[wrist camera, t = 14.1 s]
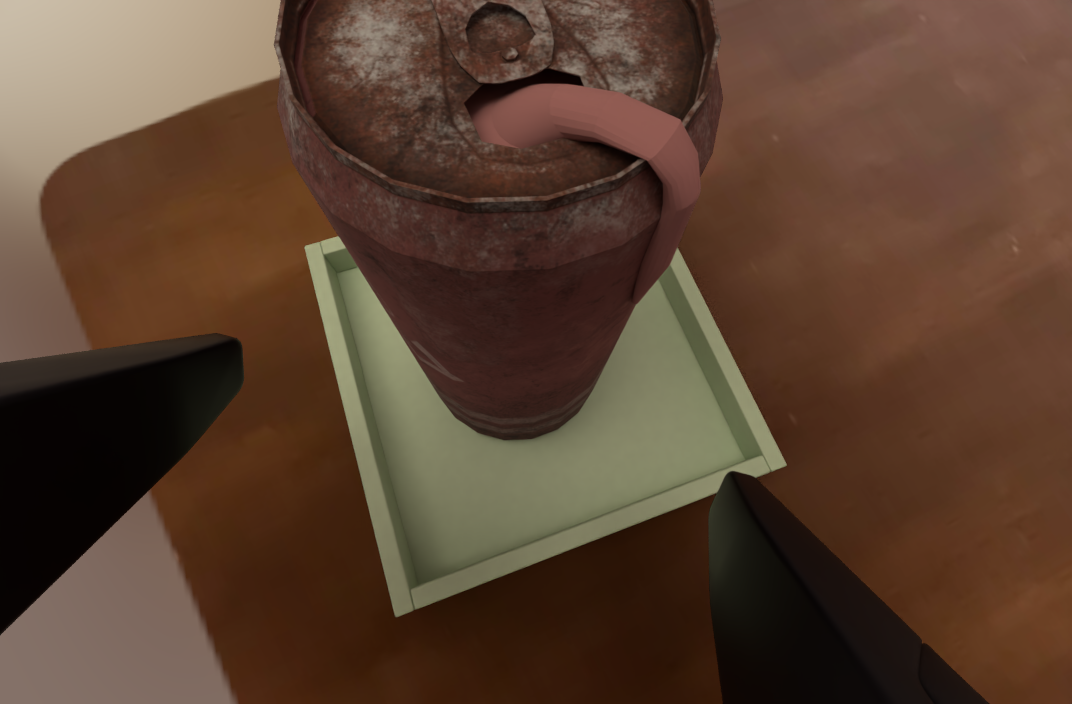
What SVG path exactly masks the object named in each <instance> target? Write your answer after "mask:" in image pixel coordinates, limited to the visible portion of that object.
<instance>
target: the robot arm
mask: <svg viewBox="0 0 1072 704" xmlns="http://www.w3.org/2000/svg"><path fill="white" fill-rule="evenodd" d="M243 381H244V368H243V351H242V344H241V342H240V341H239V340H238V339H237V338H234V337H230V336H226V335H223V334H218V333H213V334H205V335H198V336H191V337H184V338H177V339H169V340H162V341H155V342H148V343H141V344H133V345H126V346H119V347H112V348H104V349H97V350H90V351H84V352H76V353H69V354H62V355H54V356H47V357H40V358H32V359H25V360H18V361H11V362H3V363H0V635H1V634H2V633H3V632H4V631H5V630H6V629H7V628H8V627H9V626H10V625H11V624H12V623H13V622H14V621H15V620H16V619H17V618H18V617H19V616H20V615H21V614H22V613H23V612H24V611H25V610H27V609H28V608H29V607H30V606H31V605H32V604H33V603H34V602H35V601H36V600H37V599H38V598H39V597H40V596H41V595H42V594H43V593H44V592H45V591H46V590H47V589H48V588H49V587H50V586H51V585H52V584H53V583H54V582H55V581H56V580H57V579H58V578H59V577H60V576H61V575H62V574H64V573H65V572H66V571H67V570H68V569H69V568H70V567H71V566H72V565H73V564H74V563H75V562H76V561H77V560H78V559H79V558H80V557H81V556H82V555H83V554H84V553H85V552H86V551H87V550H88V549H89V548H90V547H91V546H92V545H93V544H94V543H95V542H96V541H97V540H98V539H99V538H100V537H102V536H103V535H104V533H106V531H108V530H109V529H110V527H112V526H113V525H114V524H115V523H116V522H117V521H118V520H119V519H120V518H121V517H122V516H123V515H124V514H125V513H126V512H127V511H128V510H129V509H130V508H131V507H132V506H133V505H134V504H135V503H136V502H137V501H138V500H139V499H140V498H142V497H143V496H144V495H145V494H146V493H147V492H148V491H149V490H150V489H151V488H152V487H153V486H154V485H155V484H156V483H157V482H158V481H159V480H160V479H161V478H162V477H163V476H164V475H165V474H166V473H167V472H168V471H169V470H170V469H171V468H172V467H173V466H174V465H175V464H176V463H177V462H178V461H179V460H180V459H181V458H182V457H183V456H184V455H185V454H186V453H187V452H188V451H189V450H190V449H191V448H192V447H193V445H194V444H195V443H196V442H197V441H198V440H199V439H200V437H201V436H202V435H203V434H204V433H205V431H206V430H207V429H208V428H209V427H210V425H211V424H212V423H213V422H214V421H215V420H216V418H217V417H218V416H219V415H220V414H221V412H222V411H223V410H224V409H225V408H226V406H227V405H228V404H229V403H230V402H231V400H232V399H233V398H234V397H235V396H236V395H237V393H238V392H239V391H240V389H241V387H242V385H243ZM709 592H710V607H711V616H712V624H713V631H714V639H715V647H716V654H717V662H718V670H719V677H720V685H721V693H722V700H723V704H989V703H988V702H987V701H986V700H985V699H984V698H983V697H982V696H981V695H980V694H978V693H977V692H976V691H975V690H974V689H973V688H972V687H971V686H970V685H969V684H968V683H967V682H966V681H965V680H964V679H963V678H962V677H960V676H959V675H958V674H957V673H956V672H955V671H954V670H953V669H952V668H951V667H950V666H949V665H948V664H947V663H946V662H945V661H944V660H943V659H942V658H941V657H940V656H939V655H938V654H937V653H936V652H935V651H934V650H933V649H932V648H931V647H930V646H928V645H927V644H925V643H923V644H922V640H921V638H920V637H919V636H918V635H917V634H916V633H915V632H914V631H913V630H912V629H911V628H910V627H909V626H908V625H907V624H906V623H905V622H904V621H903V620H901V619H900V618H899V617H898V616H897V615H896V614H895V613H894V612H893V611H892V610H891V609H890V608H889V607H888V606H887V605H886V604H885V603H884V602H883V601H882V600H881V599H880V598H879V597H878V596H877V595H876V594H875V593H874V592H873V591H872V590H871V589H870V588H869V587H867V586H866V585H865V584H864V583H863V582H862V581H861V580H860V579H859V578H858V577H857V576H856V575H855V574H854V573H853V572H852V571H851V570H850V569H849V568H848V567H847V566H846V565H845V564H844V563H843V562H842V561H841V560H840V559H839V558H838V557H837V556H836V555H834V554H833V553H832V552H831V551H830V550H829V549H828V548H827V547H826V546H825V545H824V544H823V543H822V542H821V541H820V540H819V539H818V538H817V537H816V536H815V535H814V534H813V533H812V532H811V531H810V530H809V529H808V528H807V527H806V526H805V525H804V524H803V523H802V522H800V521H799V520H798V519H797V518H796V517H795V516H794V515H793V514H792V513H791V512H790V511H789V510H788V509H787V508H786V507H785V506H784V505H783V504H782V503H781V502H780V501H779V500H778V499H777V498H776V497H775V496H774V495H773V494H772V493H771V492H770V491H769V490H768V489H766V488H765V487H764V486H763V485H762V484H761V483H760V482H759V481H758V480H757V479H756V478H755V477H754V476H751V475H748V474H744V473H740V472H737V471H730V472H728V473H727V474H726V475H725V477H724V479H723V481H722V483H721V485H720V488H719V490H718V492H717V494H716V496H715V498H714V501H713V503H712V505H711V508H710V512H709Z"/></svg>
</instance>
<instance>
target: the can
mask: <svg viewBox="0 0 1072 704" xmlns="http://www.w3.org/2000/svg"><path fill="white" fill-rule="evenodd" d="M720 41H721V36H720V31H719V27H718V22H717V18H716V13H715V9H714V4H713V0H281V2H280V9H279V15H278V22H277V28H276V35H275V42H274V47H275V50H276V54H277V57H278V60H279V64H280V68H281V70H280V81H279V93H278V104H277V108H278V112H279V115H280V119H281V122H282V126H283V130H284V133H285V137H286V141H287V144H288V148H289V151H290V155H291V159H292V162H293V164H294V166H295V167H296V169H297V171H298V172H299V174H300V175H301V177H302V179H303V180H304V182H305V183H306V185H307V186H308V188H309V190H310V191H311V193H312V194H313V196H314V198H315V199H316V201H317V202H318V204H319V206H320V207H321V209H322V210H323V212H324V214H325V215H326V217H327V218H328V220H329V222H330V223H331V225H332V226H333V228H334V230H335V231H336V233H337V234H338V236H339V238H340V239H341V241H342V242H343V244H344V246H345V247H346V249H347V250H348V252H349V254H350V255H351V257H352V258H353V260H354V262H355V263H356V265H357V266H358V268H359V269H360V271H361V273H362V274H363V276H364V277H365V279H366V281H367V282H368V284H369V285H370V287H371V289H372V290H373V292H374V293H375V295H376V297H377V298H378V300H379V301H380V303H381V305H382V306H383V308H384V309H385V311H386V313H387V314H388V316H389V317H390V319H391V321H392V322H393V324H394V325H395V327H396V329H397V330H398V332H399V333H400V335H401V337H402V338H403V340H404V341H405V343H406V345H407V346H408V348H409V349H410V351H411V353H412V354H413V356H414V357H415V359H416V360H417V362H418V364H419V365H420V367H421V368H422V370H423V372H424V373H425V375H426V376H427V378H428V380H429V381H430V383H431V384H432V386H433V388H434V389H435V391H436V392H437V394H438V396H439V397H440V398H441V400H442V401H443V402H444V404H445V405H446V406H447V408H448V409H449V410H450V412H451V413H452V414H453V416H454V417H455V418H456V419H458V420H459V421H461V422H462V423H464V424H465V425H467V426H468V427H470V428H471V429H473V430H474V431H476V432H477V433H480V434H483V435H487V436H490V437H494V438H498V439H501V440H524V439H534V438H536V437H539V436H542V435H544V434H547V433H550V432H552V431H555V430H558V429H559V428H560V427H561V426H563V425H564V424H565V423H566V422H568V421H569V420H570V419H571V418H573V417H574V416H575V415H576V414H577V413H579V411H580V410H581V408H582V406H583V405H584V403H585V402H586V400H587V399H588V397H589V395H590V394H591V392H592V391H593V389H594V387H595V385H596V383H597V381H598V379H599V377H600V375H601V373H602V371H603V369H604V367H605V365H606V363H607V361H608V359H609V357H610V355H611V353H612V351H613V349H614V347H615V345H616V343H617V341H618V339H619V337H620V335H621V333H622V331H623V329H624V327H625V325H626V323H627V321H628V319H629V317H630V315H631V313H632V312H633V310H634V308H635V306H636V304H638V303H639V302H640V300H641V299H642V298H643V297H644V296H645V294H646V293H647V292H648V291H649V290H650V288H651V287H652V286H653V285H654V284H655V282H656V281H657V280H658V279H659V277H660V276H661V275H662V274H663V273H664V271H665V270H666V269H667V268H668V267H669V265H670V264H671V261H672V259H673V256H674V254H675V252H676V249H677V247H678V244H679V242H680V240H681V237H682V235H683V233H684V230H685V228H686V225H687V223H688V221H689V218H690V216H691V213H692V211H693V209H694V206H695V204H696V202H697V199H698V197H699V194H700V191H701V183H700V177H701V175H702V173H703V171H704V169H705V167H706V165H707V163H708V161H709V159H710V157H711V155H712V153H713V148H714V143H715V137H716V132H717V127H718V122H719V117H720V112H721V107H722V101H723V95H722V89H721V83H720V78H719V72H718V66H717V56H718V51H719V46H720Z"/></svg>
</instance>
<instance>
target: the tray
mask: <svg viewBox="0 0 1072 704" xmlns="http://www.w3.org/2000/svg"><path fill="white" fill-rule="evenodd" d="M305 251H306V255H307V259H308V263H309V267H310V272H311V276H312V280H313V284H314V288H315V292H316V296H317V300H318V304H319V308H320V312H321V316H322V320H323V325H324V329H325V333H326V337H327V341H328V345H329V349H330V353H331V357H332V361H333V365H334V369H335V373H336V378H337V382H338V386H339V390H340V394H341V398H342V402H343V406H344V410H345V414H346V418H347V422H348V426H349V431H350V435H351V439H352V443H353V447H354V451H355V455H356V459H357V463H358V467H359V471H360V475H361V480H362V484H363V488H364V492H365V496H366V500H367V504H368V508H369V512H370V516H371V520H372V524H373V528H374V533H375V537H376V541H377V545H378V549H379V553H380V557H381V561H382V565H383V569H384V573H385V577H386V581H387V586H388V590H389V594H390V598H391V602H392V606H393V610H394V614H395V616H396V617H399V616H401V615H404V614H406V613H409V612H411V611H414V610H415V609H419V608H422V607H424V606H427V605H429V604H432V603H435V602H437V601H440V600H442V599H445V598H447V597H450V596H453V595H455V594H458V593H460V592H463V591H465V590H468V589H471V588H473V587H476V586H478V585H481V584H484V583H486V582H489V581H491V580H494V579H496V578H499V577H502V576H504V575H507V574H509V573H512V572H514V571H517V570H520V569H522V568H525V567H527V566H530V565H532V564H535V563H538V562H540V561H543V560H545V559H548V558H551V557H553V556H556V555H558V554H561V553H563V552H566V551H569V550H571V549H574V548H576V547H579V546H581V545H584V544H587V543H589V542H592V541H594V540H597V539H599V538H602V537H605V536H607V535H610V534H612V533H615V532H618V531H620V530H623V529H625V528H628V527H630V526H633V525H636V524H638V523H641V522H643V521H646V520H648V519H651V518H654V517H656V516H659V515H661V514H664V513H666V512H669V511H672V510H674V509H677V508H679V507H682V506H685V505H687V504H690V503H692V502H695V501H697V500H700V499H703V498H705V497H708V496H710V495H713V494H715V493H717V492H718V490H719V488H720V485H721V483H722V481H723V479H724V477H725V475H726V474H727V473H728V472H730V471H737V472H740V473H744V474H748V475H751V476H754V477H755V478H757V477H759V476H762V475H764V474H767V473H769V472H772V471H775V470H777V469H780V468H783V467H785V466H786V465H787V464H786V462H785V460H784V458H783V456H782V454H781V452H780V450H779V448H778V446H777V444H776V442H775V440H774V438H773V436H772V434H771V432H770V430H769V428H768V426H767V424H766V422H765V420H764V418H763V417H762V415H761V413H760V411H759V409H758V407H757V405H756V403H755V401H754V399H753V397H752V395H751V393H750V391H749V389H748V387H747V385H746V383H745V381H744V379H743V377H742V375H741V373H740V371H739V369H738V367H737V365H736V363H735V361H734V359H733V357H732V355H731V353H730V351H729V349H728V347H727V345H726V343H725V341H724V339H723V337H722V335H721V333H720V331H719V329H718V327H717V325H716V323H715V321H714V319H713V317H712V315H711V313H710V311H709V309H708V307H707V305H706V303H705V301H704V299H703V297H702V295H701V293H700V291H699V289H698V287H697V285H696V283H695V281H694V279H693V277H692V275H691V273H690V271H689V269H688V267H687V265H686V263H685V261H684V259H683V257H682V255H681V253H680V251H679V249H678V247H677V249H676V252H675V254H674V256H673V259H672V261H671V264H670V265H669V267H668V268H667V269H666V270H665V271H664V273H663V274H662V275H661V276H660V277H659V279H658V280H657V281H656V282H655V284H654V285H653V286H652V287H651V288H650V290H649V291H648V292H647V293H646V294H645V296H644V297H643V298H642V299H641V300H640V302H639V303H638V304H636V306H635V308H634V310H633V312H632V313H631V315H630V317H629V319H628V321H627V323H626V325H625V327H624V329H623V331H622V333H621V335H620V337H619V339H618V341H617V343H616V345H615V347H614V349H613V351H612V353H611V355H610V357H609V359H608V361H607V363H606V365H605V367H604V369H603V371H602V373H601V375H600V377H599V379H598V381H597V383H596V385H595V387H594V389H593V391H592V392H591V394H590V395H589V397H588V399H587V400H586V402H585V403H584V405H583V406H582V408H581V410H580V411H579V413H577V414H576V415H575V416H574V417H573V418H571V419H570V420H569V421H568V422H566V423H565V424H564V425H563V426H561V427H560V428H559V429H558V430H555V431H552V432H550V433H547V434H544V435H542V436H539V437H536V438H534V439H524V440H501V439H498V438H494V437H490V436H487V435H483V434H480V433H477V432H476V431H474V430H473V429H471V428H470V427H468V426H467V425H465V424H464V423H462V422H461V421H459V420H458V419H456V418H455V417H454V416H453V414H452V413H451V412H450V410H449V409H448V408H447V406H446V405H445V404H444V402H443V401H442V400H441V398H440V397H439V396H438V394H437V392H436V391H435V389H434V388H433V386H432V384H431V383H430V381H429V380H428V378H427V376H426V375H425V373H424V372H423V370H422V368H421V367H420V365H419V364H418V362H417V360H416V359H415V357H414V356H413V354H412V353H411V351H410V349H409V348H408V346H407V345H406V343H405V341H404V340H403V338H402V337H401V335H400V333H399V332H398V330H397V329H396V327H395V325H394V324H393V322H392V321H391V319H390V317H389V316H388V314H387V313H386V311H385V309H384V308H383V306H382V305H381V303H380V301H379V300H378V298H377V297H376V295H375V293H374V292H373V290H372V289H371V287H370V285H369V284H368V282H367V281H366V279H365V277H364V276H363V274H362V273H361V271H360V269H359V268H358V266H357V265H356V263H355V262H354V260H353V258H352V257H351V255H350V254H349V252H348V250H347V249H346V247H345V246H344V244H343V242H342V241H341V239H340V238H339V236H338V237H334V238H331V239H327V240H324V241H321V243H320V242H317V243H314V244H310V245H307V246H305Z"/></svg>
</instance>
